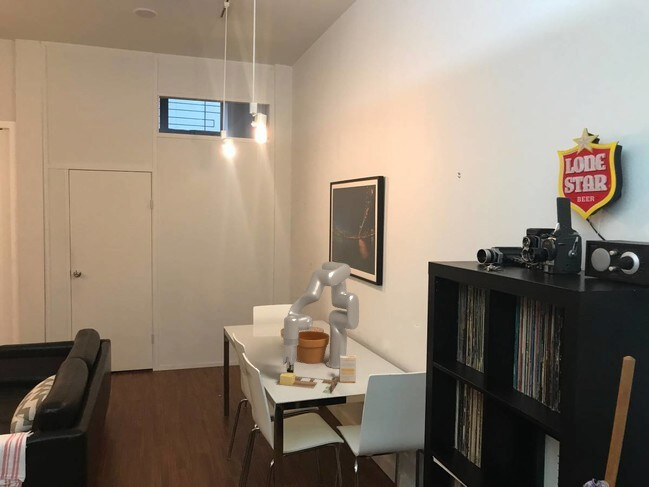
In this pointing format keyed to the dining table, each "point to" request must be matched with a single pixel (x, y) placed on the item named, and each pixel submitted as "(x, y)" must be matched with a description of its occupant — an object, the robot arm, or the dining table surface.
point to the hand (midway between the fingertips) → (290, 376)
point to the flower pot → (312, 346)
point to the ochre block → (287, 378)
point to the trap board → (313, 383)
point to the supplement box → (347, 368)
